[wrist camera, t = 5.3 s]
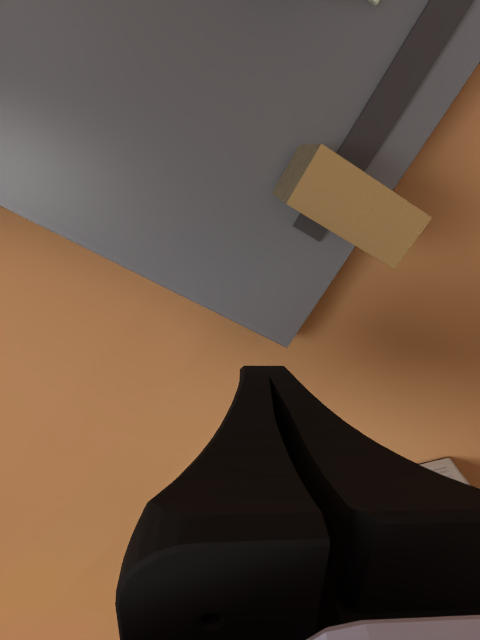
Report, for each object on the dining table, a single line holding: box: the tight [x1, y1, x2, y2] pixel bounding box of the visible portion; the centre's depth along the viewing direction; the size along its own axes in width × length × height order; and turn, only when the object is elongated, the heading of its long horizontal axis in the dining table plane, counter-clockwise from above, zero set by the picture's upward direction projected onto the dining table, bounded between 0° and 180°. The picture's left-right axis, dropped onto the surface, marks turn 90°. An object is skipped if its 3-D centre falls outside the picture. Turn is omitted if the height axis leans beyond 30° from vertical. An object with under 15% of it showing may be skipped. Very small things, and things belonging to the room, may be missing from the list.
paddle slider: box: [271, 144, 432, 270], centre depth 13 cm, size 4×2×3 cm, turn 60°
